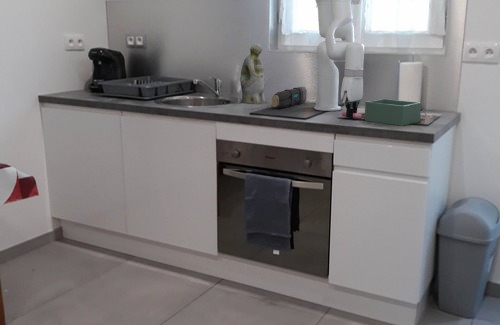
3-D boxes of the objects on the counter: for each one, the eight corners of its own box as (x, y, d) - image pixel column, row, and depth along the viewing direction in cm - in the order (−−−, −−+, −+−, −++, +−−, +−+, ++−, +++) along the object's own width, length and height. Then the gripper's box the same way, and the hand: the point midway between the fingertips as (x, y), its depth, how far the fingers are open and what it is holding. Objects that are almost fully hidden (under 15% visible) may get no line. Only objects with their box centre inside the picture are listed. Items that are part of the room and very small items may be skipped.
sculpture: (253, 104, 266) (253, 43, 258) (235, 101, 276) (234, 43, 269) (269, 102, 273) (269, 43, 266) (251, 99, 283) (251, 42, 276)
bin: (364, 120, 218) (365, 101, 216) (382, 116, 227) (383, 98, 225) (402, 125, 206) (403, 106, 204) (419, 121, 215) (421, 102, 213)
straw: (340, 116, 225) (340, 111, 225) (343, 115, 227) (343, 111, 226) (359, 119, 218) (360, 114, 218) (362, 118, 220) (362, 114, 219)
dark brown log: (266, 114, 250) (295, 99, 274) (278, 119, 248) (306, 103, 271) (270, 93, 245) (298, 80, 269) (282, 97, 243) (310, 83, 266)
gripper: (357, 71, 226) (355, 114, 231) (334, 74, 215) (332, 118, 220) (372, 73, 220) (369, 116, 225) (349, 75, 210) (347, 121, 215)
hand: (351, 117), depth 223 cm, fingers closed on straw, 2 cm apart
